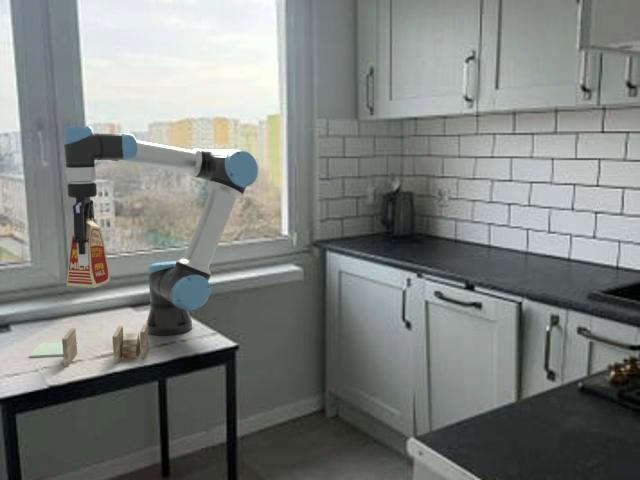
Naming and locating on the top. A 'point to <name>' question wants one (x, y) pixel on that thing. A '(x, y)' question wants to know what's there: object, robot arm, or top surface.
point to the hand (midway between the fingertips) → (87, 262)
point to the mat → (48, 350)
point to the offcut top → (131, 339)
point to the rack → (71, 344)
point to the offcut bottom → (131, 354)
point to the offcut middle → (131, 348)
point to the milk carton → (97, 259)
